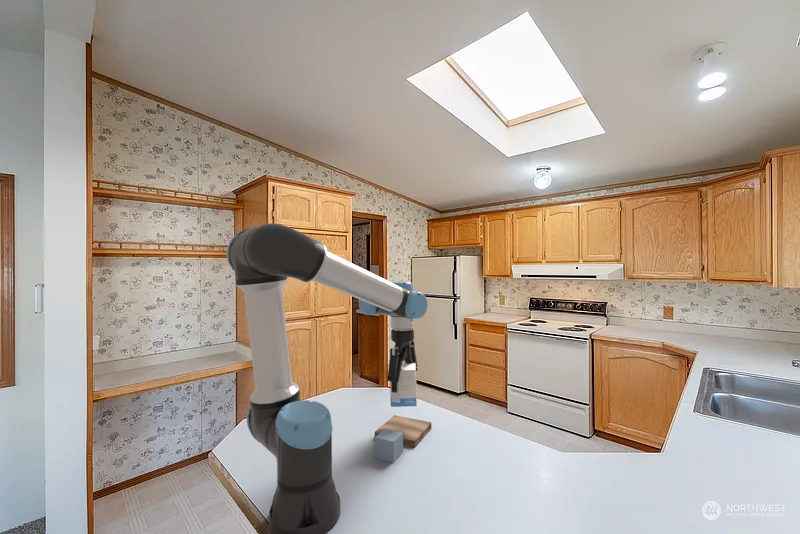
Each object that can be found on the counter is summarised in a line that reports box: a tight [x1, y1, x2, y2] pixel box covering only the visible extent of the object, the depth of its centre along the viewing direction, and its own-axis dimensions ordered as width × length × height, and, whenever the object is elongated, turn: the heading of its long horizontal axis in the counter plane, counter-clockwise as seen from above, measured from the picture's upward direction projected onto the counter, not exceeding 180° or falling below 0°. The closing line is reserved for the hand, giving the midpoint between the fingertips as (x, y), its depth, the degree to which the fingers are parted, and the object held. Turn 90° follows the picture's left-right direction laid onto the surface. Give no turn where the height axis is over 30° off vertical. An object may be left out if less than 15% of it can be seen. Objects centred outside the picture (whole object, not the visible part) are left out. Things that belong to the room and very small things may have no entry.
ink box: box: [389, 361, 418, 408], centre depth 115 cm, size 9×8×13 cm
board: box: [374, 414, 432, 448], centre depth 115 cm, size 14×14×2 cm
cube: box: [374, 429, 404, 463], centre depth 102 cm, size 6×6×6 cm
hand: (403, 395), depth 115 cm, fingers closed on ink box, 11 cm apart
